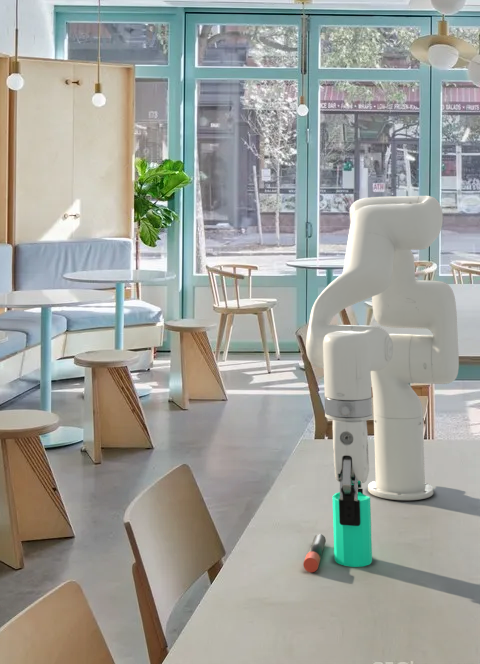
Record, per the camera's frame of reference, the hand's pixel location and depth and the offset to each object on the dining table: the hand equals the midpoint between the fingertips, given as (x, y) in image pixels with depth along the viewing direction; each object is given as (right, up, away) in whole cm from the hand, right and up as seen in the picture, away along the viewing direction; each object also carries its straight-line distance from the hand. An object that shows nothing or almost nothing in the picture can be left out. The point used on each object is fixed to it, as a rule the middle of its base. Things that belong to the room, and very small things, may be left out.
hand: (351, 517), depth 167 cm
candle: (0, -7, 0) cm, 7 cm away
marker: (-5, -7, +2) cm, 9 cm away
